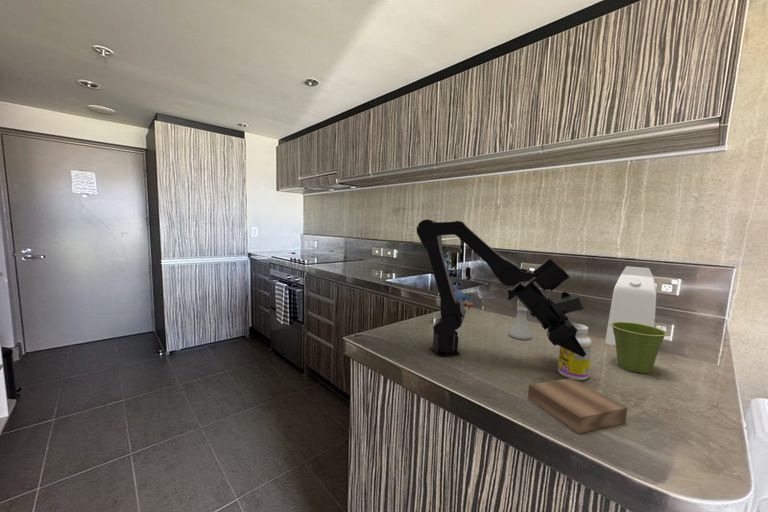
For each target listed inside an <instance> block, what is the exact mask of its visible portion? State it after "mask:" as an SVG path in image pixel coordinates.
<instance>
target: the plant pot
mask: <svg viewBox="0 0 768 512" xmlns="http://www.w3.org/2000/svg"><path fill="white" fill-rule="evenodd" d="M611 326H612V327H613V332H614V335H615V343H616V345H615V351H616V360H617V364H618V366H619V367H620V368H622V369H625V370H627V371H628V372H634V373H635V372H637V373H638V372H639V373H641V374H650V373H652V371H653V368H654V366H655V364H656V363H655V362H656V359H657V356H658V354H659V351H660V347H661V344H662V343H663V341H664V339H665V337H666V336H668V332H667V331H665V329H664V330H663V329H662V328H658V327H656V326H655V327H652V326H648V325H643V324H638V323H630V322H613V323H611Z"/></svg>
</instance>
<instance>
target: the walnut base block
mask: <svg viewBox="0 0 768 512" xmlns="http://www.w3.org/2000/svg"><path fill="white" fill-rule="evenodd" d="M527 393H528V394H527V399H528V400H529V401H531V402H533V403H535V404H536V405H537V406H539V407H540V408H542V409H543V410H544V411H545V412H547V413H549V414H550V415H551V416H553V417H554V418H556V420H558V421H560V422H561V423H563V424H565V425H566V426H567V427H569V428H570V429H571V430H573V431H574V432H576V433H577V434H583V433H587V432H591V431H596V430H600V429H605V428H609V427H613V426H618V425H621V424H626V421H627V414H628V412H627V411H628V407H627V406H624V405H623V404H621V403H619V402H617V401H616V400H613V399H611V398H609V397H608V396H606V395H603V394H602V393H600V392H598V391H596V390H594V389H593V388H590V387H589V386H587V385H585V384H583V383H581V382H579V381H578V380H574V379H571V378H565V379H564V378H563V379H558V380H552V381H545V382H544V381H543V382H537V383H532V384H528V391H527Z"/></svg>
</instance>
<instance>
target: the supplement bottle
mask: <svg viewBox="0 0 768 512" xmlns="http://www.w3.org/2000/svg"><path fill="white" fill-rule="evenodd" d="M571 323H572V324H573V325H574V326H575V327H576V329H577V330H578V331H577V332H576V336H575V337H576V339H577V340H578V342H579V344H580V345H581V347H582V348H583V350H584V351H585V353H586V356H584V357H581V356H579V355H577V354H575V353H573V352H571V351H569V350H567V349H565V348H563V347H561V346H559V355H558V364H557V371H558V373H559V374H560V375H562V377H565V378H566V379H569V378H571V379H573V380H575V381H585V380H587V379H588V378H589V375H590V374H589V373H590V365H591V364H590V363H591V355H592V354H591V353H592V352H591V351H592V343H593V341H592V339H591V338H590V337H588V336H587V335H588V333H589V327H588V326H586V325H584V324H580V323H574V322H571Z"/></svg>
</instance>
